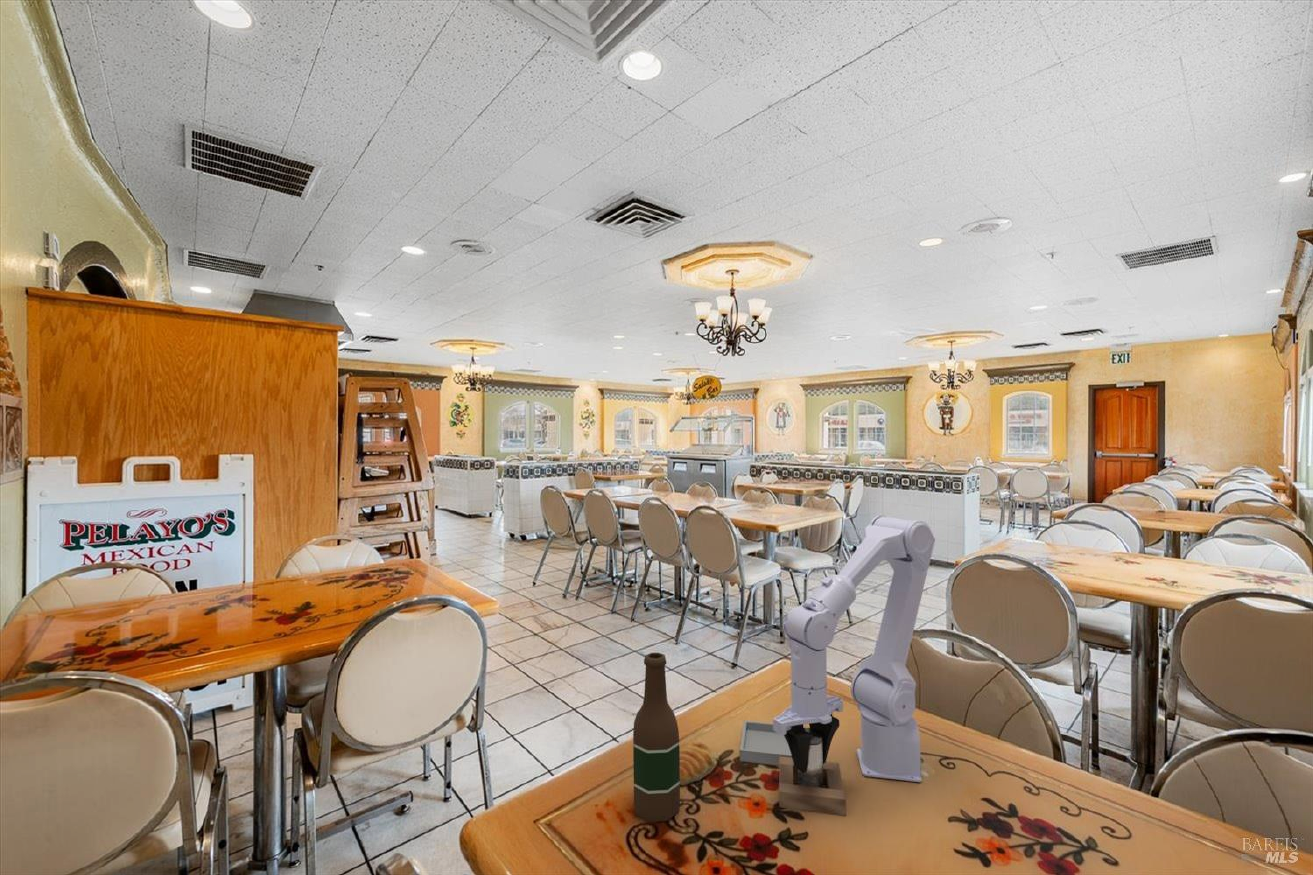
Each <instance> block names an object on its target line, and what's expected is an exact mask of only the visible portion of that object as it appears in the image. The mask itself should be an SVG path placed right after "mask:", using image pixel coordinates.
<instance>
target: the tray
mask: <svg viewBox="0 0 1313 875" xmlns="http://www.w3.org/2000/svg"><path fill="white" fill-rule="evenodd" d="M803 728H807V727H806V725H805V726H804V725H803ZM740 737H741V739H740V745H739V746H740V747H739V762H744V763H752V764H761V765H771V766H778V767H779V756H781V757H790V758H792V755H791V752H790V748H789V746H788V743H787V741H786V739H785V737H784V735H780V734H778V733H777V732H775V731H774V730H773V722H764V721H757V720H756V721H753V720H743V722H742V731H741V736H740Z"/></svg>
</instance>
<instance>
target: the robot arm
mask: <svg viewBox="0 0 1313 875" xmlns="http://www.w3.org/2000/svg"><path fill="white" fill-rule="evenodd" d="M863 531H864V533H863V534H864V538H863V540H862V541H861V543H860V544H859V546H858V547H857V548H856V549H855V551H854V552H853V554H851V557H849V559H848V560H847V562H846V564H845V565H844V566H843V568H842V569H841V570H840V572H839V573H838V574H828V575H827V576H824V577H823V579H822V580H820V584H819V586H818V587H816V589H815V590H814V591H813V592H812V593H811V595H810V596H809V597H808V598H806V600H805V601H804V603H803V604H802V605H797V606H795V607H793V608H792V609H790V610H789V611H788V612H787V614H786V615H785V618H784V619H785V620H784V622H783V623H782V625H781V626H782V631H783V633H784V635H785V636H786V637H787V640H788V648H790V680H791V681H790V683H791V685H790V688H791V689H790V690H791V691H790V694H791V696H790V697H791V702H790V703H791V704H790V705H789V706H788V707H787V708H786V709H784V711H783V712H782V713H780V714H779V715H778V716H776V717H774V718H772V723H773V730H774V731H775V732H777V733H778V734H780V735H784V737H785V739H786V741H787V743H788V746H789V748H790V752H791V755H792V759H793V763H794V767H795V768H796V769H798V770H799V771H801V772H802V773H805V772H806V771H807V767H808V751H809V746H810V742H811V740H812V737H813V735H812V734H810V733H809V732H807V731H805V728H803V726H804V725H809V728H813V729H816V730H818V731H820V732H821V733H822V751H823V764H824V763H826V762H827V758H828V754H829V751H830V748H831V747H830V746H831V743H832V740H833V739H834V736H835V734H836V733H837V730H838V729H839V728H840V720H839V719H838V718H837V717H835V716H833V713H834V712H837V713H841V712H844V699H842V698H839V697H837V695H831V696H828V682H827V681H828V680H827V679H828V676H827V675H828V674H827V671H828V670H827V668H828V667H827V647H829V645H831V644H832V642H833V640H834V638H835V632H836V629H837V627H838V623H839V622H838V621H839V620H840V619H841V617H843V615H844V614H845V613H846V612H847V610H848V609H849V608H850V607H851V606H852V604H853V603H854V602H855V601H856V599H857V593H856V591H857V590H856V588H857V587H858V586H859V585H860V584H861V583H862V582H863V581H864V580H865V579H866V578H867V577H868V575H870V574H871V573H872V572H873V571H874V570H875V569H876V568H877V567H878V566H879V565H880V564H881V563H882V562H883V561H884V560H886V561H887V562H888V563H889V564H890V567H891V569H892V571H893V574H892V579H891V582H890V585H889V589H888V590H889V591H888V594H887V598H886V602H885V607H884V611H883V615H882V619H881V623H880V626H879V630H878V635H877V637H876V638H877V639H876V643H875V646H874V647H875V648H874V650H873V655H870V656H869V657H866V658H864V659H863V660H861V661H860V662H859V666H858V669H857V671H856V673H855V674H854V676H853V678H852V680H851V683H850V694H851V697H852V699H853V700H854V701H855V702H856V703H857V709H858V710H859V711H860V735H861V738H860V739H861V740H860V741H861V745H860V746H861V747H860V748H857V749H856V755H857V758H858V762H859V765H860V770H861V774H862V775H863V776H865V777H871V778H872V777H873V778H880V779H888V780H889V779H890V780H899V781H906V782H914V783H915V782H916V783H922V782H923V781H922V776H921V775H922V774H921V772H922V769H921V768H922V767H921V737H920V730H919V726H918V722H917V720H916V718H914V717H913V715H914V713H915V710H916V693H915V692H916V687H917V683H916V680H915V679H914V677H913V676H912V674H911V673H910V671H909V670H908V668H907V666H906V665H907V660H908V657H909V652H910V648H911V643H912V639H913V635H914V631H915V626H916V621H917V617H918V613H919V609H920V604H921V600H922V596H923V592H924V587H925V583H926V579H927V574H928V570H929V568H930V563H931V559H932V555H933V550H934V546H935V541H936V538H935V535H934V534H933V532H932V531H931V527H930V526H929V525H928V523H927V522H925V521H923V520H910V519H905V518H904V519H903V518H897V517H891V516H886V515H881V514H880V515H877V516H875V517H874V518H872V519H871V521H870V523H869V524H868V525H867V526H866V527H865V528H864V530H863Z"/></svg>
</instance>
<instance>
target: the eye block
mask: <svg viewBox="0 0 1313 875" xmlns="http://www.w3.org/2000/svg"><path fill="white" fill-rule="evenodd" d="M841 772H842V771H841V768H840V762H835V761H826V763H824V764H823V785H824V784H825V785H826V788H825V787H823V788H818V787H810V786H802V785H798V784H794V781H798V769H796V768H795V767H794V763H793V759H792V758H790V757H781V756H779V766H778V774H779V775H778V776H779V777H778V778H779V779H778V801H779V802H778V803H779V804H778V805H779V808H783V809H791V810H797V811H798V810H799V811H805V812H806V811H807V812H814V813H818V814H819V813H821V814H828V815H837V816H843V817H846V815H847V814H846V812H847V808H846V807H847V804H846V803H847V802H846V800H847V799H846V794H845V790H844V784H843V779H842V773H841Z"/></svg>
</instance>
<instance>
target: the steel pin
mask: <svg viewBox="0 0 1313 875" xmlns="http://www.w3.org/2000/svg"><path fill="white" fill-rule="evenodd" d="M805 731H807V732H809V733H810V734H812V735H813V737H812V740H811V742H810V746H809V751H808V767H807V771H806V772H805V773H802V772H801V771H799V770H798V780H797V785H802V786H810V787H818V788H824V783H823V751H822V733H821V732H820V731H818V730H816V729H813V728H810V727H806V728H805Z"/></svg>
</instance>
